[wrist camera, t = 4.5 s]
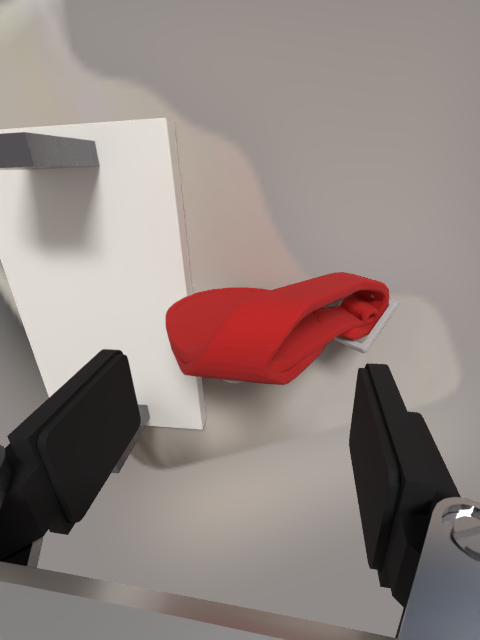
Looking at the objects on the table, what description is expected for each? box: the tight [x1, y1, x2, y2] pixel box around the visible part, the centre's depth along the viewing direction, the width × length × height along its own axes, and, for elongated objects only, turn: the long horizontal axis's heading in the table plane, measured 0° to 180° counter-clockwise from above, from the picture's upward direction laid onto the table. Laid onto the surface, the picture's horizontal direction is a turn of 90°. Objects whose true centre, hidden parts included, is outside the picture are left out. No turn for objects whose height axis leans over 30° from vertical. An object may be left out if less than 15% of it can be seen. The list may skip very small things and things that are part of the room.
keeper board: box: [0, 118, 206, 473], centre depth 20 cm, size 12×20×6 cm, turn 2°
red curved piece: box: [165, 272, 399, 385], centre depth 16 cm, size 12×4×10 cm, turn 88°
